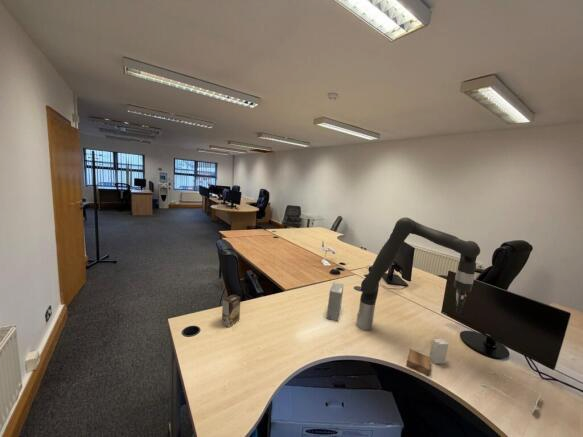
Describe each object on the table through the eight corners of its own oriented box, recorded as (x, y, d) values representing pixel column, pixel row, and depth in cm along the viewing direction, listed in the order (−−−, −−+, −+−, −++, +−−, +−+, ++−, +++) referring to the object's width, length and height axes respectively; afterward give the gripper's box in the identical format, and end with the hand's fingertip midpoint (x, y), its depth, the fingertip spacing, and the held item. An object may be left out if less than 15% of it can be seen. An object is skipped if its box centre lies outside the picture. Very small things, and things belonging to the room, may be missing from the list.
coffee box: (229, 328, 140) (229, 303, 137) (221, 324, 143) (222, 299, 140) (240, 320, 148) (240, 297, 145) (232, 317, 151) (233, 293, 148)
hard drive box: (337, 322, 154) (341, 293, 151) (326, 319, 156) (329, 291, 153) (340, 310, 169) (343, 283, 165) (330, 307, 171) (333, 281, 167)
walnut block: (406, 366, 121) (407, 359, 120) (408, 355, 129) (409, 348, 128) (428, 376, 115) (429, 369, 115) (429, 364, 124) (430, 357, 123)
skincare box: (438, 358, 128) (442, 338, 126) (444, 364, 124) (449, 343, 122) (428, 358, 127) (432, 338, 125) (433, 364, 123) (438, 343, 121)
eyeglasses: (532, 418, 98) (534, 410, 97) (479, 386, 112) (481, 379, 111) (539, 400, 107) (541, 392, 106) (489, 372, 121) (491, 365, 120)
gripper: (454, 273, 128) (449, 301, 131) (455, 282, 116) (449, 312, 119) (471, 277, 124) (465, 306, 127) (474, 287, 112) (467, 318, 115)
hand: (457, 309), depth 123 cm, fingers open, 8 cm apart
